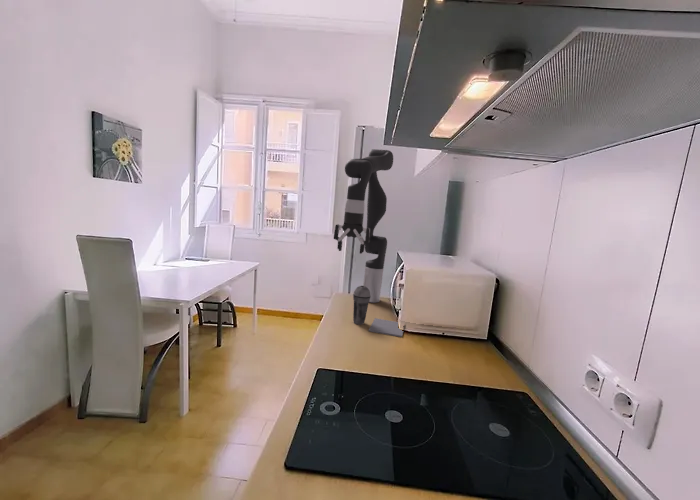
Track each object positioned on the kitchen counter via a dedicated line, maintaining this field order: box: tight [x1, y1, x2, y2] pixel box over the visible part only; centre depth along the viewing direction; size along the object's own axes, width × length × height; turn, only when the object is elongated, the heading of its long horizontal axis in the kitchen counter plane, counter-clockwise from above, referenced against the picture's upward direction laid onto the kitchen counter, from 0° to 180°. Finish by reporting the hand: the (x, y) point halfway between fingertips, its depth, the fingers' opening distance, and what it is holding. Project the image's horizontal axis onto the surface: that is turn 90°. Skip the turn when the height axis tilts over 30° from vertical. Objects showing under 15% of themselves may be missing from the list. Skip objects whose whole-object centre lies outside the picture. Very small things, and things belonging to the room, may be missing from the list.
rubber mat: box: [368, 317, 404, 338], centre depth 149 cm, size 16×13×1 cm
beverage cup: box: [352, 275, 371, 326], centre depth 150 cm, size 7×7×20 cm
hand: (350, 252), depth 147 cm, fingers open, 8 cm apart
